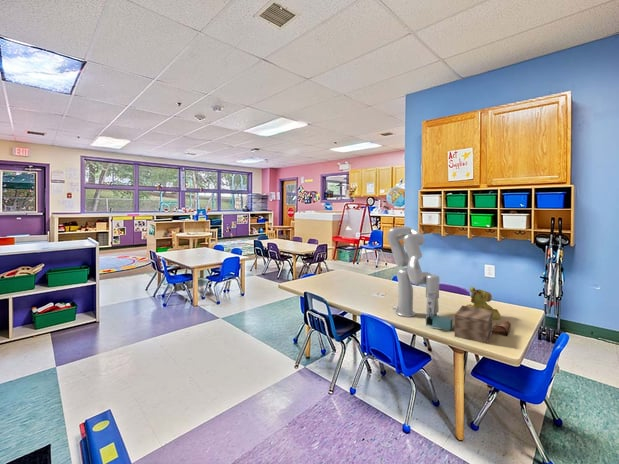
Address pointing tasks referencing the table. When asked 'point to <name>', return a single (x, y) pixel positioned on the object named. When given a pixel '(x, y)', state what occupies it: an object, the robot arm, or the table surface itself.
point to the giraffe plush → (482, 301)
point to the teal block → (441, 322)
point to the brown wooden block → (473, 324)
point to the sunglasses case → (502, 328)
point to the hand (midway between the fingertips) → (431, 322)
